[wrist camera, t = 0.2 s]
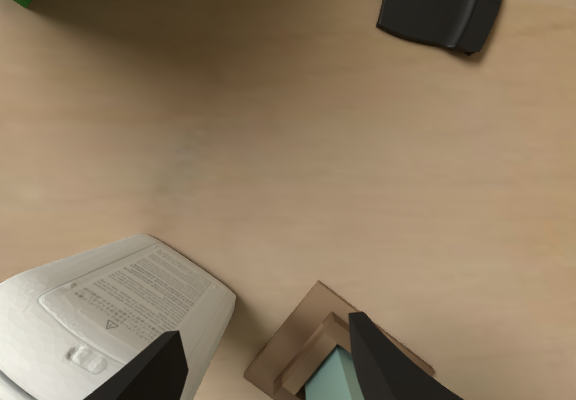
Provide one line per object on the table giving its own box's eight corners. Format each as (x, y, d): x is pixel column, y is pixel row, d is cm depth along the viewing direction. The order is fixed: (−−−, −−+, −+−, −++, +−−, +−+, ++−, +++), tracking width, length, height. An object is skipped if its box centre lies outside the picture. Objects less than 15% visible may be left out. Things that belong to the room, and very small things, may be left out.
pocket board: (355, 454, 23) (362, 483, 20) (244, 371, 22) (239, 392, 20) (430, 366, 22) (446, 386, 20) (318, 280, 22) (321, 291, 19)
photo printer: (113, 266, 22) (-120, 377, 9) (140, 223, 21) (-61, 280, 9) (217, 334, 22) (126, 529, 10) (246, 293, 22) (189, 439, 9)
